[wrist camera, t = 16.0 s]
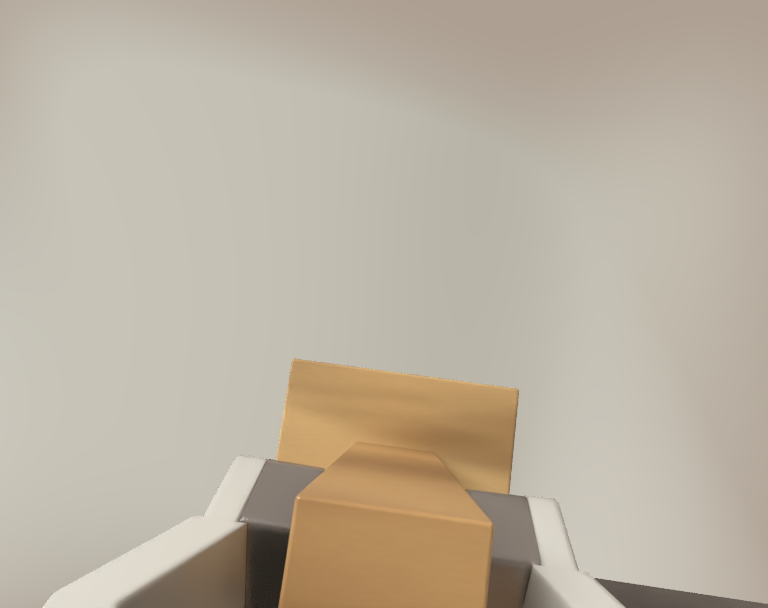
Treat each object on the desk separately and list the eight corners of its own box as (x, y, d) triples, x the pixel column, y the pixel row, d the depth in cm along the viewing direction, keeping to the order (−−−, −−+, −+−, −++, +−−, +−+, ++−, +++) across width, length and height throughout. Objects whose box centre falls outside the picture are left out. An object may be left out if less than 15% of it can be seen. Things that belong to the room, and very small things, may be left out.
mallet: (295, 480, 22) (312, 367, 22) (483, 507, 22) (494, 392, 22) (70, 644, 7) (144, 290, 7) (685, 742, 6) (702, 362, 7)
